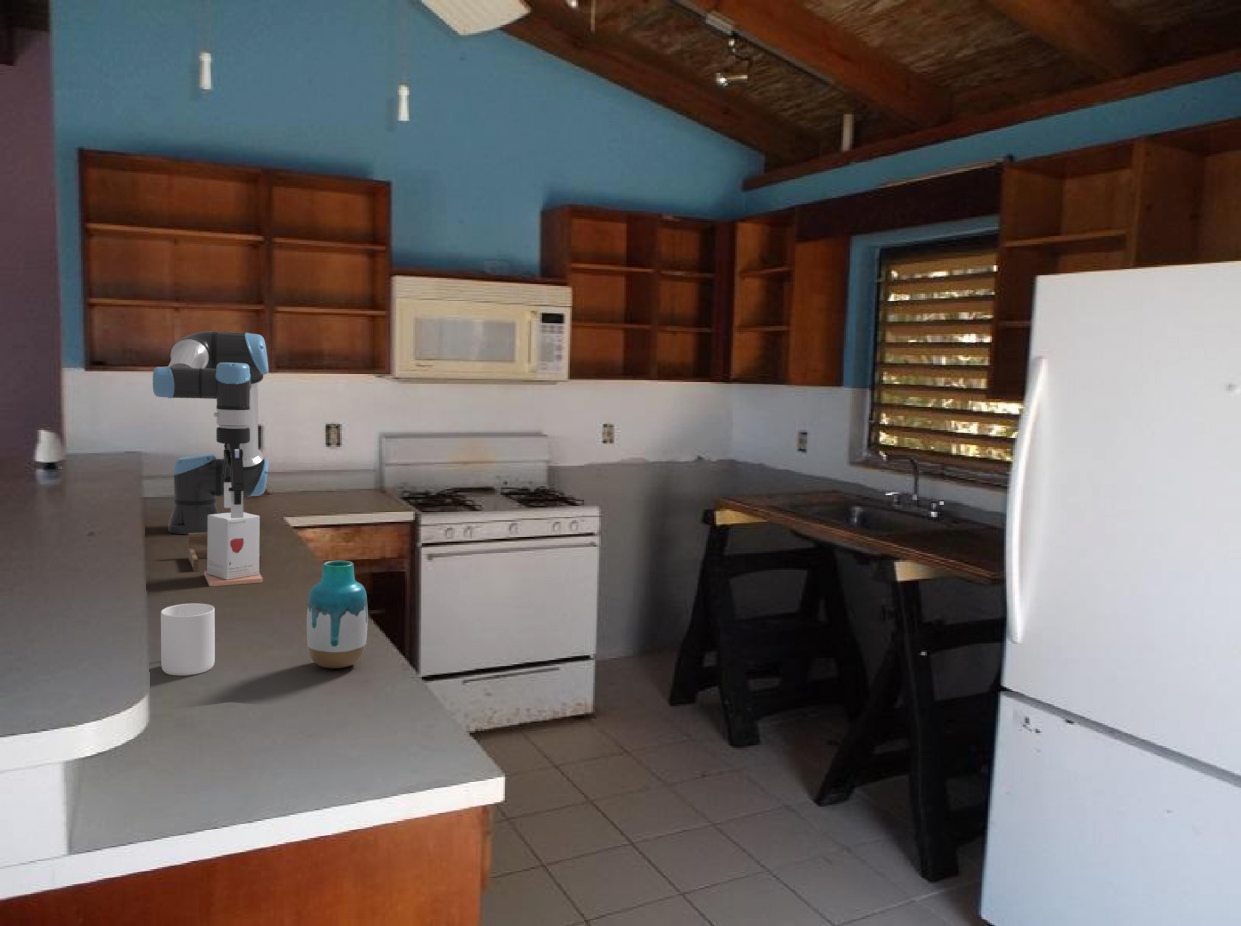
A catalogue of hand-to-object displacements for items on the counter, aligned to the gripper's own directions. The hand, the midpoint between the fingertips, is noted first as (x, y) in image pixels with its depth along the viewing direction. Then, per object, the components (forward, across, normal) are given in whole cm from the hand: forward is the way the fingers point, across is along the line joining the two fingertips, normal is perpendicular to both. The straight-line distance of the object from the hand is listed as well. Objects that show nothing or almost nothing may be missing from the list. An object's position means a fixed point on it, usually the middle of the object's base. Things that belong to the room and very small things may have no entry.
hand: (233, 512), depth 224 cm
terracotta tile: (+16, 0, 0) cm, 17 cm away
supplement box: (+16, 0, 0) cm, 16 cm away
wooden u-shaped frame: (+17, -19, 0) cm, 25 cm away
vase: (+16, +74, +9) cm, 76 cm away
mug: (+16, +64, -15) cm, 67 cm away
